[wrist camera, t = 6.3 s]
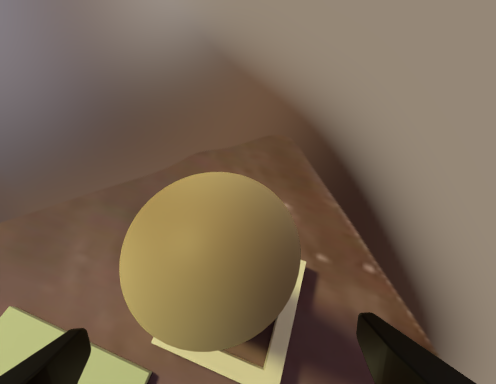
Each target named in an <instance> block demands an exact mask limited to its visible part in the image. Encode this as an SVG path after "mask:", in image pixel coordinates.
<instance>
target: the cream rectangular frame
mask: <svg viewBox="0 0 496 384" xmlns="http://www.w3.org/2000/svg"><path fill="white" fill-rule="evenodd" d="M305 265H306V262H305V261H302V260H300V268H299V275H298V278H297V282H296V285H295V288H294V290H293V292H292V294H291V297H290V299H289V301H288V302H287V304H286V305H285V307H284V309H283V310H282V311H281V313H280V314H279V315H278V316H277V317H276V319H275V323H274V327H273V331H272V335H271V339H270V343H269V347H268V351H267V355H266V359H265V363H264V367H261V366H259V365H256V364H254V363H252V362H249V361H247V360H245V359H243V358H240V357H238V356H236V355H233V354H231V353H229V352H226V351H224V350H218V351H212V352H193V351H187V350H182V349H178V348H175V347H172V346H170V345H167V344H165V343H163V342H162V341H160V340H158V339H156V338H155V337H154V338H153V340H152V342H151V343H153V344H155V345H157V346H159V347H162V348H164V349H166V350H168V351H170V352H173V353H175V354H177V355H179V356H182V357H184V358H186V359H188V360H190V361H193V362H195V363H197V364H199V365H201V366H204V367H206V368H208V369H210V370H212V371H215V372H217V373H219V374H221V375H223V376H226V377H228V378H230V379H232V380H235V381H237V382H239V383H241V384H280V381H281V376H282V371H283V367H284V362H285V358H286V353H287V348H288V344H289V339H290V334H291V330H292V325H293V321H294V316H295V311H296V307H297V302H298V298H299V293H300V288H301V284H302V279H303V274H304V270H305Z"/></svg>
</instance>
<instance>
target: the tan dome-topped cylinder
mask: <svg viewBox="0 0 496 384" xmlns="http://www.w3.org/2000/svg"><path fill="white" fill-rule="evenodd" d="M300 259H301V249H300V240H299V236H298V232H297V228H296V225H295V223H294V220H293V218H292V216H291V214H290V213H289V211H288V209H287V208H286V206H285V205H284V204H283V202H282V201H281V200H280V199H279V198H278V197H277V196H276V195H275V194H274V193H273V192H272V191H271V190H269V189H268V188H267V187H265V186H264V185H262V184H261V183H259V182H257V181H255V180H253V179H251V178H248V177H245V176H242V175H238V174H234V173H227V172H208V173H201V174H196V175H192V176H189V177H186V178H183V179H181V180H178V181H176V182H174V183H172V184H171V185H169V186H167V187H165V188H164V189H163V190H161V191H160V192H158V193H157V194H156V195H155V196H154V197H152V198H151V199H150V200H149V201H148V202H147V203H146V204H145V205H144V207H143V208H142V209H141V210H140V211H139V213H138V214H137V216H136V217H135V219H134V220H133V222H132V224H131V225H130V227H129V230H128V232H127V234H126V236H125V239H124V243H123V246H122V250H121V256H120V270H119V274H120V283H121V288H122V292H123V296H124V299H125V301H126V303H127V305H128V308H129V310H130V311H131V313H132V314H133V316H134V318H135V319H136V320H137V322H138V323H139V324H140V325H141V326H142V327H143V328H144V329H145V330H146V331H147V332H148V333H150V334H151V335H152V336H153V337H155V338H156V339H158V340H160V341H162V342H163V343H165V344H167V345H170V346H172V347H175V348H178V349H182V350H187V351H193V352H212V351H218V350H224V349H227V348H231V347H234V346H237V345H239V344H241V343H243V342H246V341H248V340H250V339H251V338H253V337H254V336H256V335H257V334H259V333H260V332H262V331H263V330H264V329H265V328H266V327H268V326H269V325H270V324H271V323H272V322H273V321H274V320H275V319H276V317H277V316H278V315H279V314H280V313H281V311H282V310H283V309H284V307H285V305H286V304H287V302H288V301H289V299H290V297H291V294H292V292H293V290H294V288H295V285H296V282H297V278H298V275H299V268H300Z"/></svg>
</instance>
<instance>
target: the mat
mask: <svg viewBox="0 0 496 384" xmlns="http://www.w3.org/2000/svg"><path fill="white" fill-rule="evenodd" d="M66 332H67V331H65V330H63V329H61V328H59V327H57V326H55V325H53V324H51V323H49V322H47V321H44V320H42V319H40V318H38V317H36V316H34V315H32V314H30V313H28V312H26V311H23V310H21V309H19V308H17V307H12V306H9V307H8V309H7V310H6V311H5V312H4V314H3V315H2V316H1V317H0V376H1V375H2V374H4V373H5V372H7V371H8V370H10V369H11V368H13V367H14V366H16V365H17V364H19V363H20V362H22V361H23V360H25V359H26V358H28V357H29V356H31V355H32V354H34V353H35V352H37V351H39V350H40V349H42V348H43V347H45V346H46V345H48V344H49V343H51V342H52V341H54V340H55V339H57V338H58V337H60V336H61V335H63V334H64V333H66ZM90 345H91V354H90V357H89V359H88V361H87V364H86V366H85V368H84V370H83V373H82V375H81V377H80V379H79V381H78V384H147V382H148V380H149V378H150V376H151V373H152V371H149V370H147V369H145V368H143V367H141V366H139V365H137V364H135V363H133V362H131V361H128V360H126V359H124V358H122V357H120V356H118V355H116V354H114V353H112V352H110V351H107V350H105V349H103V348H101V347H99V346H97V345H95V344H93V343H91V342H90Z"/></svg>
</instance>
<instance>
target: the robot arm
mask: <svg viewBox="0 0 496 384" xmlns="http://www.w3.org/2000/svg"><path fill="white" fill-rule="evenodd" d="M356 334H357V339H358V342H359V345H360V347H361V350H362V352H363V355H364V357H365V360H366V362H367V365H368V367H369V370H370V372H371V375H372V377H373V380H374V382H375V384H476V383H474V382H473V381H472V380H470V379H468V378H467V377H465V376H464V375H463V374H461V373H460V372H458V371H457V370H455V369H454V368H453V367H451V366H450V365H448V364H447V363H445V362H444V361H442V360H441V359H439V358H438V357H437V356H435V355H434V354H432V353H431V352H429V351H428V350H426V349H425V348H423V347H422V346H420V345H419V344H417V343H416V342H415V341H413V340H412V339H410V338H409V337H407V336H406V335H404V334H403V333H401V332H400V331H398V330H397V329H396V328H394V327H393V326H391V325H390V324H388V323H387V322H385V321H384V320H382V319H381V318H379V317H378V316H376V315H375V314H373V313H370V312H368V313H360V314H359V315H358V322H357V331H356ZM90 354H91V345H90V341H89V337H88V333H87V330H86V329H84V328H77V329H71V330H69V331H67V332H66V333H64V334H63V335H61V336H60V337H58V338H57V339H55V340H54V341H52V342H51V343H49V344H48V345H46V346H45V347H43V348H42V349H40V350H39V351H37V352H35V353H34V354H32V355H31V356H29V357H28V358H26V359H25V360H23V361H22V362H20V363H19V364H17V365H16V366H14V367H13V368H11V369H10V370H8V371H7V372H5V373H4V374H2V375H1V376H0V384H78V381H79V379H80V377H81V375H82V373H83V370H84V368H85V366H86V364H87V361H88V359H89V357H90Z"/></svg>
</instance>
